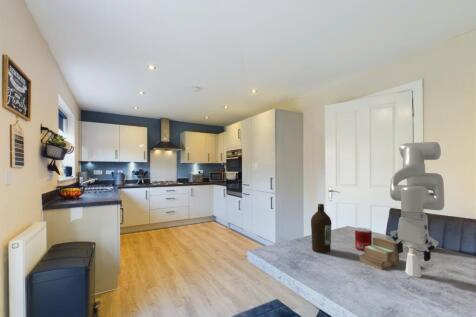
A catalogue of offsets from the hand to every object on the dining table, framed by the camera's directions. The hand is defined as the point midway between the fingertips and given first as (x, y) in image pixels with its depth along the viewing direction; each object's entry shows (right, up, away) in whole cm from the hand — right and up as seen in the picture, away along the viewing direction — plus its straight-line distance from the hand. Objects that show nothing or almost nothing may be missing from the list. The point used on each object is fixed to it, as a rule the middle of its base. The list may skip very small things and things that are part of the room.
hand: (412, 256), depth 96 cm
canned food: (-5, -9, +29) cm, 31 cm away
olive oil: (-29, -9, +27) cm, 41 cm away
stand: (-7, -8, +12) cm, 16 cm away
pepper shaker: (0, -8, 0) cm, 8 cm away
